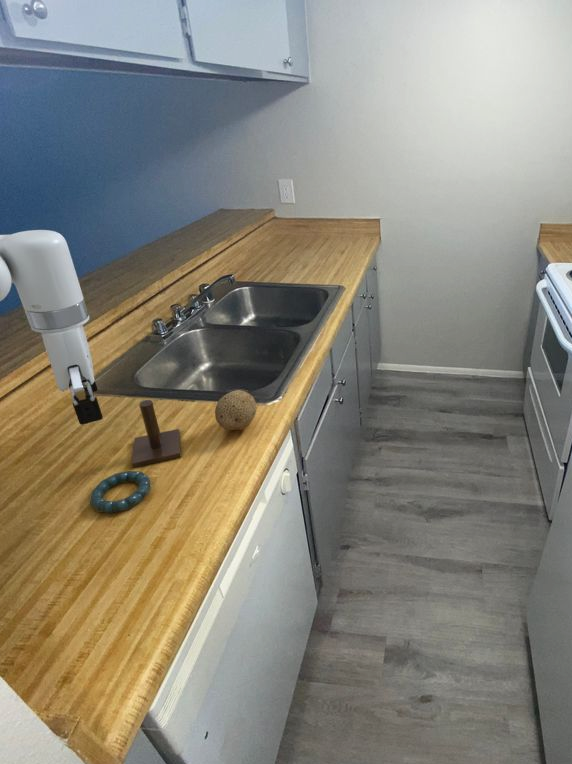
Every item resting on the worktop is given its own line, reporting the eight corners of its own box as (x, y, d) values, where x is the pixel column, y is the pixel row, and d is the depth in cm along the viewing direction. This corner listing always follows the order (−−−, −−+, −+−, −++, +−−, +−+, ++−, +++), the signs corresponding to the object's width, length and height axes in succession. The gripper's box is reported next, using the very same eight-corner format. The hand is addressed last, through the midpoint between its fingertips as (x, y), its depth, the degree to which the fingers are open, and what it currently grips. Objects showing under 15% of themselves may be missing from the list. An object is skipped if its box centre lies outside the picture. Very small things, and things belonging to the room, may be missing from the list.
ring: (88, 521, 85) (85, 513, 84) (95, 484, 93) (92, 476, 92) (150, 505, 89) (148, 497, 88) (151, 471, 97) (149, 463, 96)
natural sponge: (242, 445, 105) (236, 409, 100) (209, 436, 107) (202, 399, 103) (266, 423, 112) (262, 387, 108) (235, 414, 115) (229, 379, 110)
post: (133, 467, 97) (119, 419, 92) (135, 441, 105) (122, 396, 99) (180, 457, 101) (169, 410, 95) (179, 432, 108) (169, 387, 102)
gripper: (29, 299, 76) (61, 388, 84) (26, 341, 64) (64, 441, 72) (83, 291, 80) (109, 377, 88) (91, 329, 68) (120, 426, 75)
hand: (89, 406), depth 80 cm, fingers open, 9 cm apart
